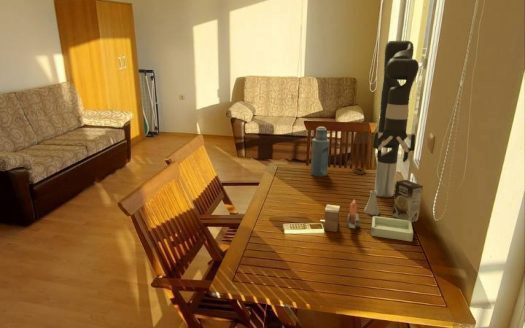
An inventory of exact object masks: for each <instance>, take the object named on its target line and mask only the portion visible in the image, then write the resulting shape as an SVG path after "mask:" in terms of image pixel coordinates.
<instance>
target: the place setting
mask: <svg viewBox="0 0 525 328" xmlns="http://www.w3.org/2000/svg"><path fill="white" fill-rule="evenodd" d="M351 165H352V160H347V166H351ZM360 170H361V171H360ZM352 172H353V174H356V175H364V174H366V169H365V168H361V167H354V168H353V169H352Z"/></svg>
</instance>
